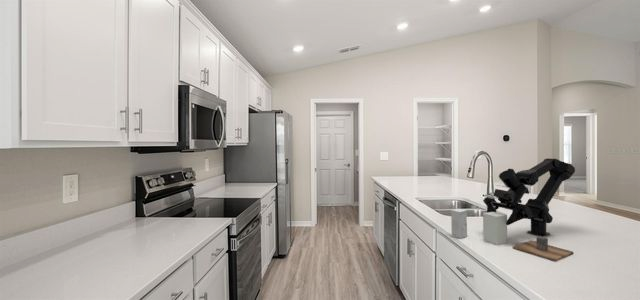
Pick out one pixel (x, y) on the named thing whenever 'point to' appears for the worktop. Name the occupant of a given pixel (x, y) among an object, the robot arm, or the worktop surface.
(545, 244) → the flat brown board
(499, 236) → the pale green box
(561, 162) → the robot arm
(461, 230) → the skincare box
